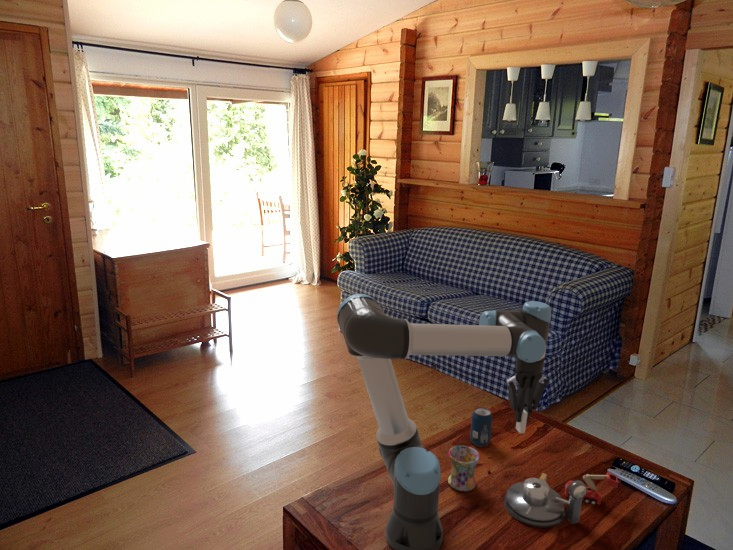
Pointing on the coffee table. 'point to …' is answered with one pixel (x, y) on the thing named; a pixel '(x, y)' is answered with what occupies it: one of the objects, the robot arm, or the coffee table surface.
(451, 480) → the mug
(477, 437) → the soda can
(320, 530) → the coffee table surface
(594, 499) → the toy fire truck
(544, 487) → the cover
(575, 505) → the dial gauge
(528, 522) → the base
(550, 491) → the turntable
